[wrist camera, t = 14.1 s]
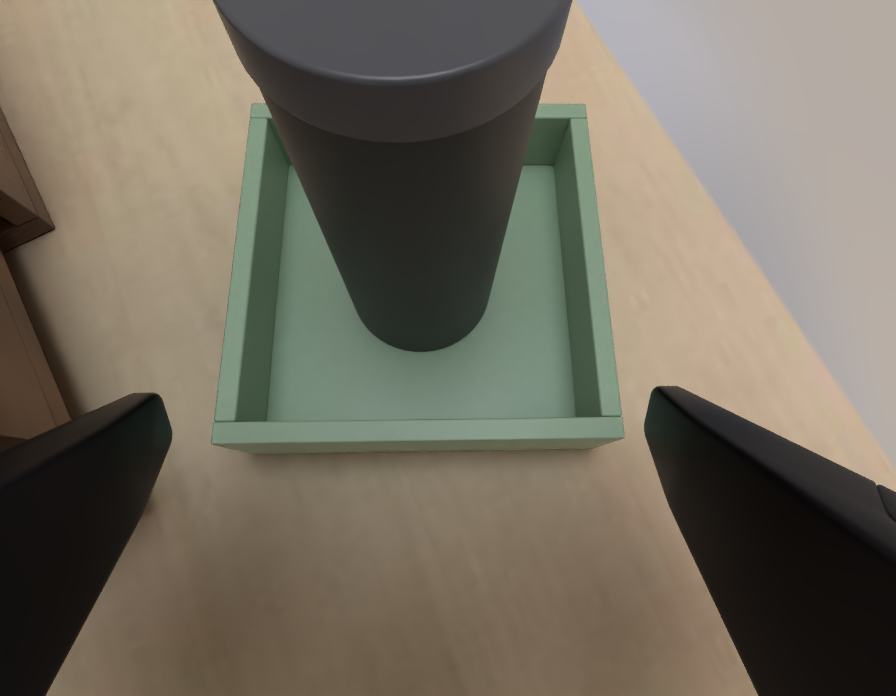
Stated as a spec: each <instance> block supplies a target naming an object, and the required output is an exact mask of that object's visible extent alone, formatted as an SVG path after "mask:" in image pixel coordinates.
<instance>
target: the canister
mask: <svg viewBox="0 0 896 696" xmlns="http://www.w3.org/2000/svg"><path fill="white" fill-rule="evenodd" d="M213 2H214V4H215V6H216V9H217V11H218V13H219V15H220V17H221V20H222V22H223V24H224V26H225V29H226V31H227V33H228V35H229V37H230V40H231V42H232V44H233V46H234V48H235V51H236V53H237V55H238V57H239V59H240V61H241V62H242V64H243V66H244V68H245V70H246V71H247V73H248V74H249V75H250V77H251V78H252V79H253V80H254V82H255V83H256V84H257V86H258V87H259V88H260V90H261V93H262V95H263V97H264V100H265V102H266V104H267V106H268V109H269V111H270V113H271V116H272V118H273V120H274V123H275V125H276V127H277V129H278V132H279V134H280V136H281V139H282V141H283V143H284V146H285V148H286V150H287V152H288V155H289V157H290V159H291V162H292V164H293V166H294V169H295V171H296V173H297V176H298V178H299V180H300V182H301V185H302V187H303V189H304V192H305V194H306V196H307V199H308V201H309V203H310V205H311V208H312V210H313V212H314V215H315V217H316V219H317V222H318V224H319V226H320V228H321V231H322V233H323V235H324V238H325V240H326V242H327V245H328V247H329V249H330V252H331V254H332V256H333V258H334V261H335V263H336V265H337V268H338V270H339V272H340V275H341V277H342V279H343V281H344V284H345V286H346V288H347V291H348V293H349V295H350V298H351V300H352V302H353V304H354V307H355V309H356V311H357V314H358V315H359V317H360V319H361V321H362V322H363V324H364V325H365V326H366V328H367V329H368V330H369V331H370V332H371V333H372V334H373V335H374V336H376V337H377V338H378V339H380V340H381V341H383V342H385V343H386V344H388V345H391V346H393V347H395V348H398V349H402V350H406V351H413V352H427V351H435V350H439V349H443V348H445V347H448V346H451V345H453V344H455V343H456V342H458V341H460V340H461V339H463V338H464V337H466V336H467V335H468V334H469V333H470V332H471V331H472V330H473V329H474V328H475V327H476V325H477V324H478V323H479V321H480V320H481V318H482V316H483V314H484V312H485V310H486V307H487V304H488V300H489V296H490V293H491V289H492V285H493V281H494V277H495V273H496V269H497V265H498V261H499V257H500V253H501V249H502V245H503V241H504V237H505V234H506V230H507V226H508V222H509V218H510V214H511V210H512V206H513V202H514V198H515V194H516V190H517V186H518V182H519V178H520V174H521V171H522V167H523V163H524V159H525V155H526V151H527V147H528V143H529V139H530V135H531V131H532V127H533V123H534V119H535V115H536V112H537V108H538V104H539V100H540V96H541V92H542V88H543V84H544V80H545V76H546V72H547V70H548V69H549V67H550V66H551V64H552V62H553V60H554V58H555V56H556V54H557V51H558V49H559V47H560V43H561V40H562V36H563V33H564V29H565V25H566V22H567V18H568V14H569V10H570V7H571V3H572V0H213Z"/></svg>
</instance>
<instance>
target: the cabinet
mask: <svg viewBox="0 0 896 696" xmlns="http://www.w3.org/2000/svg"><path fill="white" fill-rule="evenodd" d="M52 229H54V226H53V224H52V222H51V219H50V217H49V215H48V213H47V211H46V208H45V206H44V204H43V202H42V199H41V197H40V195H39V193H38V191H37V188H36V186H35V184H34V182H33V180H32V177H31V175H30V173H29V171H28V169H27V166H26V164H25V162H24V160H23V157H22V155H21V153H20V151H19V149H18V146H17V144H16V142H15V140H14V138H13V135H12V133H11V131H10V129H9V127H8V124H7V122H6V120H5V118H4V115H3V113H2V111H1V109H0V250H1V252H2V253H3V252H5V251H7V250H9V249H12V248H14V247H16V246H18V245H20V244H22V243H24V242H26V241H29V240H31V239H33V238H35V237H37V236H39V235H41V234H43V233H46V232H48V231H50V230H52Z"/></svg>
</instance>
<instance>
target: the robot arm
mask: <svg viewBox="0 0 896 696" xmlns="http://www.w3.org/2000/svg"><path fill="white" fill-rule="evenodd" d="M644 432H645V437H646V440H647V443H648V446H649V449H650V452H651V455H652V457H653V460H654V463H655V466H656V469H657V472H658V475H659V478H660V481H661V484H662V487H663V490H664V493H665V496H666V499H667V501H668V504H669V507H670V509H671V511H672V513H673V516H674V518H675V520H676V522H677V524H678V526H679V528H680V531H681V533H682V535H683V537H684V539H685V541H686V543H687V545H688V548H689V550H690V552H691V554H692V556H693V558H694V560H695V562H696V565H697V567H698V569H699V571H700V573H701V575H702V577H703V579H704V581H705V584H706V586H707V588H708V590H709V592H710V594H711V596H712V598H713V601H714V603H715V605H716V607H717V609H718V611H719V613H720V615H721V618H722V620H723V622H724V624H725V626H726V628H727V630H728V632H729V634H730V637H731V639H732V641H733V643H734V645H735V647H736V649H737V651H738V654H739V656H740V658H741V660H742V662H743V664H744V666H745V668H746V671H747V673H748V675H749V677H750V679H751V681H752V683H753V685H754V687H755V690H756V692H757V694H758V696H896V492H894V491H892V490H890V489H888V488H886V487H884V486H882V485H877V486H876V484H875V482H873V481H871V480H869V479H867V478H865V477H863V476H861V475H859V474H857V473H855V472H853V471H851V470H849V469H847V468H845V467H843V466H841V465H839V464H836V463H834V462H832V461H830V460H828V459H826V458H824V457H822V456H820V455H818V454H816V453H814V452H812V451H810V450H808V449H806V448H804V447H802V446H800V445H797V444H795V443H793V442H791V441H789V440H787V439H785V438H783V437H781V436H779V435H777V434H775V433H773V432H771V431H769V430H767V429H765V428H763V427H760V426H758V425H756V424H754V423H752V422H750V421H748V420H746V419H744V418H742V417H740V416H738V415H736V414H734V413H732V412H730V411H728V410H726V409H724V408H721V407H719V406H717V405H715V404H713V403H711V402H709V401H707V400H705V399H703V398H701V397H699V396H697V395H695V394H693V393H691V392H689V391H687V390H685V389H682V388H680V387H678V386H657V387H655V388H654V389H653V391H652V393H651V396H650V400H649V405H648V409H647V414H646V418H645V423H644ZM171 441H172V429H171V425H170V422H169V419H168V416H167V413H166V410H165V406H164V403H163V400H162V398H161V397H160V395H158V394H156V393H132V394H130V395H127V396H125V397H123V398H121V399H118V400H116V401H114V402H112V403H109V404H107V405H105V406H103V407H100V408H98V409H96V410H94V411H91V412H89V413H87V414H85V415H82V416H80V417H78V418H76V419H73V420H71V421H69V422H67V423H64V424H62V425H60V426H58V427H55V428H53V429H51V430H49V431H46V432H44V433H42V434H40V435H37V436H35V437H33V438H30V439H28V440H26V441H24V442H21V443H19V444H17V445H15V446H12V447H10V448H8V449H6V450H3V451H1V452H0V696H46V694H47V692H48V690H49V688H50V686H51V685H52V683H53V681H54V679H55V677H56V675H57V673H58V672H59V670H60V668H61V666H62V664H63V662H64V660H65V658H66V657H67V655H68V653H69V651H70V649H71V647H72V645H73V643H74V642H75V640H76V638H77V636H78V634H79V632H80V630H81V629H82V627H83V625H84V623H85V621H86V619H87V617H88V615H89V614H90V612H91V610H92V608H93V606H94V604H95V602H96V600H97V599H98V597H99V595H100V593H101V591H102V589H103V587H104V586H105V584H106V582H107V580H108V578H109V576H110V574H111V572H112V571H113V569H114V567H115V565H116V563H117V561H118V559H119V558H120V556H121V554H122V552H123V550H124V548H125V546H126V544H127V543H128V541H129V539H130V537H131V535H132V533H133V531H134V529H135V528H136V526H137V524H138V522H139V520H140V518H141V516H142V513H143V511H144V509H145V507H146V504H147V502H148V499H149V497H150V494H151V492H152V489H153V487H154V484H155V482H156V479H157V477H158V474H159V472H160V469H161V467H162V464H163V462H164V459H165V457H166V455H167V452H168V450H169V447H170V445H171Z"/></svg>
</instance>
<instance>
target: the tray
mask: <svg viewBox="0 0 896 696" xmlns="http://www.w3.org/2000/svg"><path fill="white" fill-rule="evenodd" d="M250 118H251V119H250V122H249V130H248V139H247V147H246V156H245V164H244V173H243V181H242V189H241V198H240V206H239V215H238V223H237V231H236V240H235V248H234V257H233V265H232V273H231V282H230V290H229V299H228V307H227V316H226V324H225V332H224V341H223V349H222V358H221V366H220V374H219V383H218V391H217V400H216V408H215V416H214V421H215V422H214V423H213V430H212V439H211V444H213V445H217V446H221V447H225V448H229V449H234V450H238V451H242V452H247V453H250V454H271V453H338V452H405V451H472V450H539V449H592V448H595V447H599V446H602V445H605V444H608V443H611V442H614V441H617V440H620V439H623V438H624V437H625V435H624V426H623V418H622V417H620V416H621V415H622V412H621V403H620V395H619V386H618V378H617V369H616V361H615V352H614V344H613V335H612V327H611V318H610V310H609V301H608V293H607V284H606V276H605V267H604V258H603V250H602V241H601V233H600V224H599V216H598V207H597V199H596V190H595V182H594V173H593V165H592V156H591V148H590V139H589V131H588V122H587V113H586V105H585V104H538V108H537V112H536V115H535V119H534V123H533V127H532V131H531V135H530V139H529V143H528V147H527V151H526V155H525V159H524V163H523V167H522V171H521V174H520V178H519V182H518V186H517V190H516V194H515V198H514V202H513V206H512V210H511V214H510V218H509V222H508V226H507V230H506V234H505V237H504V241H503V245H502V249H501V253H500V257H499V261H498V265H497V269H496V273H495V277H494V281H493V285H492V289H491V293H490V296H489V300H488V304H487V307H486V310H485V312H484V314H483V316H482V318H481V320H480V321H479V323H478V324H477V325H476V327H475V328H474V329H473V330H472V331H471V332H470V333H469V334H468V335H467V336H466V337H464V338H463V339H461V340H460V341H458V342H456V343H455V344H453V345H451V346H448V347H445V348H443V349H439V350H435V351H427V352H413V351H406V350H402V349H398V348H395V347H393V346H391V345H388V344H386V343H385V342H383V341H381V340H380V339H378V338H377V337H376V336H374V335H373V334H372V333H371V332H370V331H369V330H368V329H367V328H366V326H365V325H364V324H363V322H362V321H361V319H360V317H359V315H358V314H357V311H356V309H355V307H354V304H353V302H352V300H351V298H350V295H349V293H348V291H347V288H346V286H345V284H344V281H343V279H342V277H341V275H340V272H339V270H338V268H337V265H336V263H335V261H334V258H333V256H332V254H331V252H330V249H329V247H328V245H327V242H326V240H325V238H324V235H323V233H322V231H321V228H320V226H319V224H318V222H317V219H316V217H315V215H314V212H313V210H312V208H311V205H310V203H309V201H308V199H307V196H306V194H305V192H304V189H303V187H302V185H301V182H300V180H299V178H298V176H297V173H296V171H295V169H294V166H293V164H292V162H291V159H290V157H289V155H288V152H287V150H286V148H285V146H284V143H283V141H282V139H281V136H280V134H279V132H278V129H277V127H276V125H275V123H274V120H273V118H272V116H271V113H270V111H269V109H268V106H267V104H252V105H251V113H250Z"/></svg>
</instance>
